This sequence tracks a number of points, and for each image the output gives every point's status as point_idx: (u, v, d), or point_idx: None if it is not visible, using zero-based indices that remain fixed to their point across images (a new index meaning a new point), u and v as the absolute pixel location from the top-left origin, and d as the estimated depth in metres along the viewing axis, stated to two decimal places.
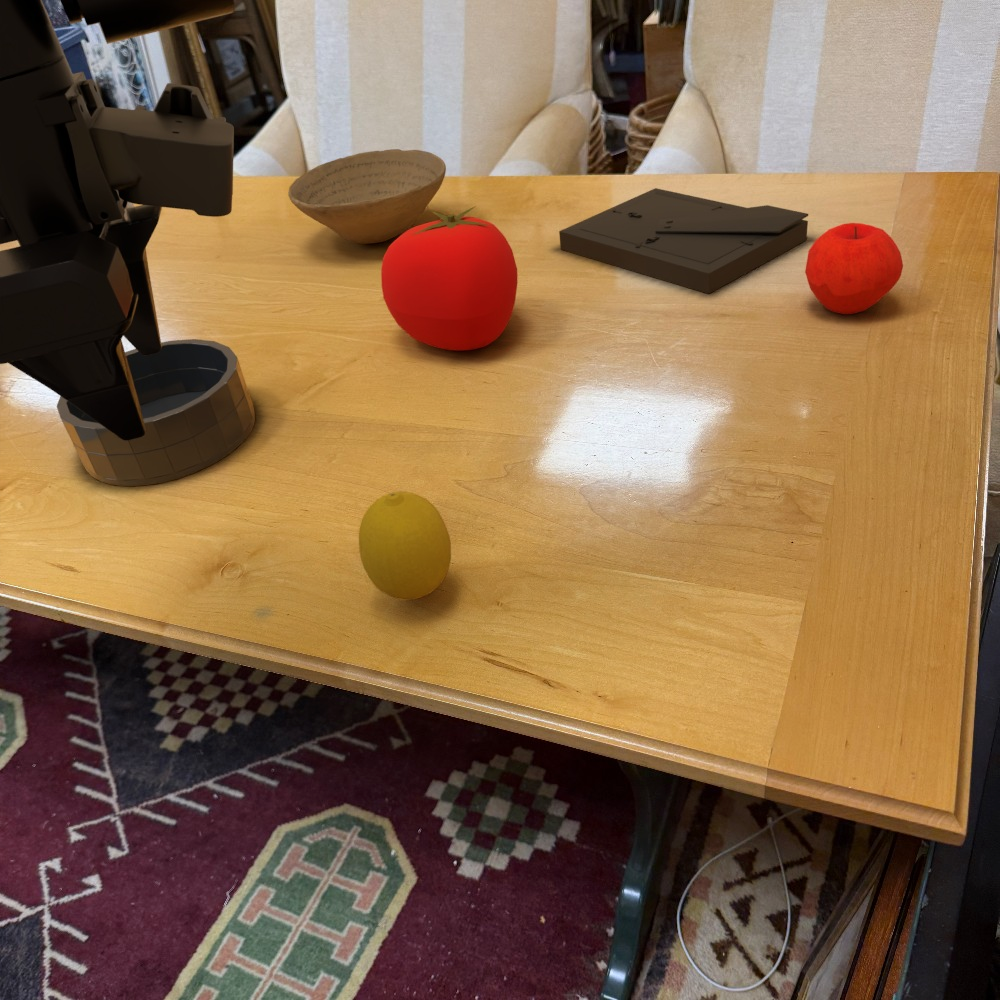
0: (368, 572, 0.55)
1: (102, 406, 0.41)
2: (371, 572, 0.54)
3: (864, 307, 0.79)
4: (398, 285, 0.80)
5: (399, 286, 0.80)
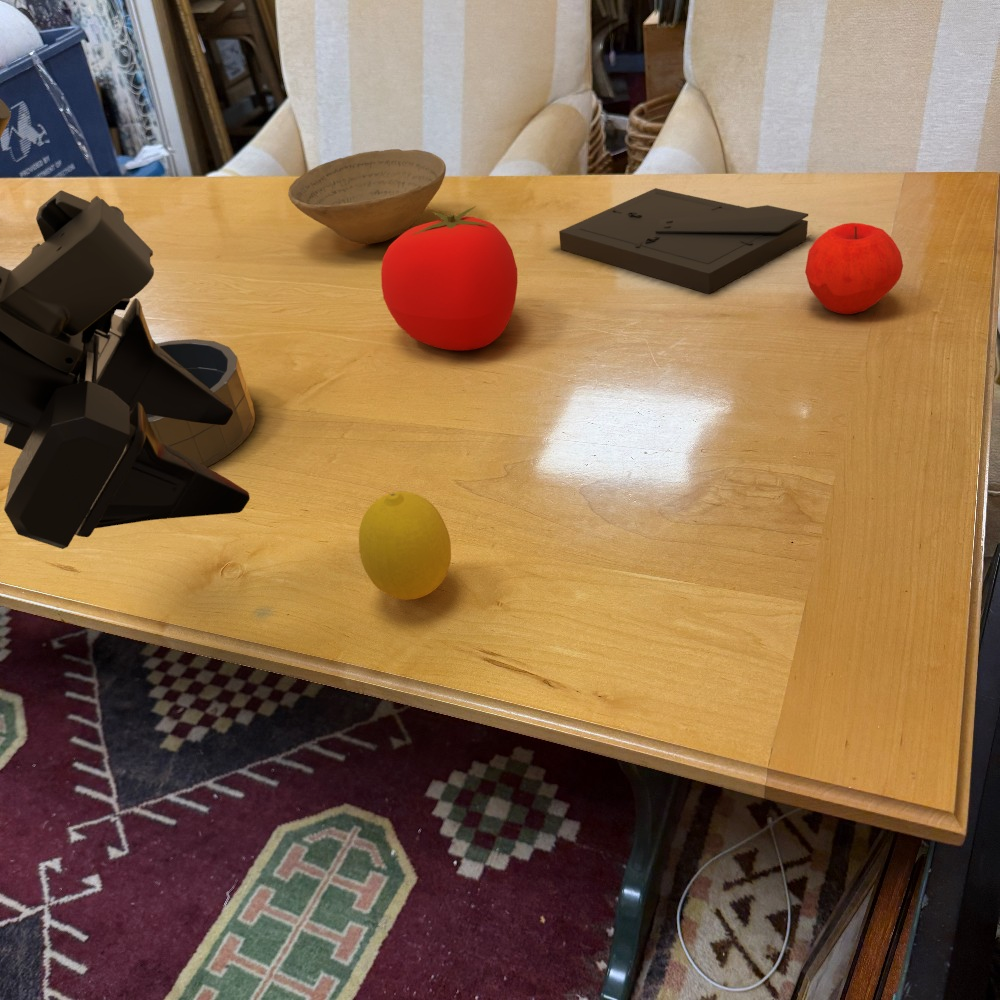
0: (368, 572, 0.55)
1: (197, 502, 0.43)
2: (371, 572, 0.54)
3: (864, 307, 0.79)
4: (398, 285, 0.80)
5: (399, 286, 0.80)
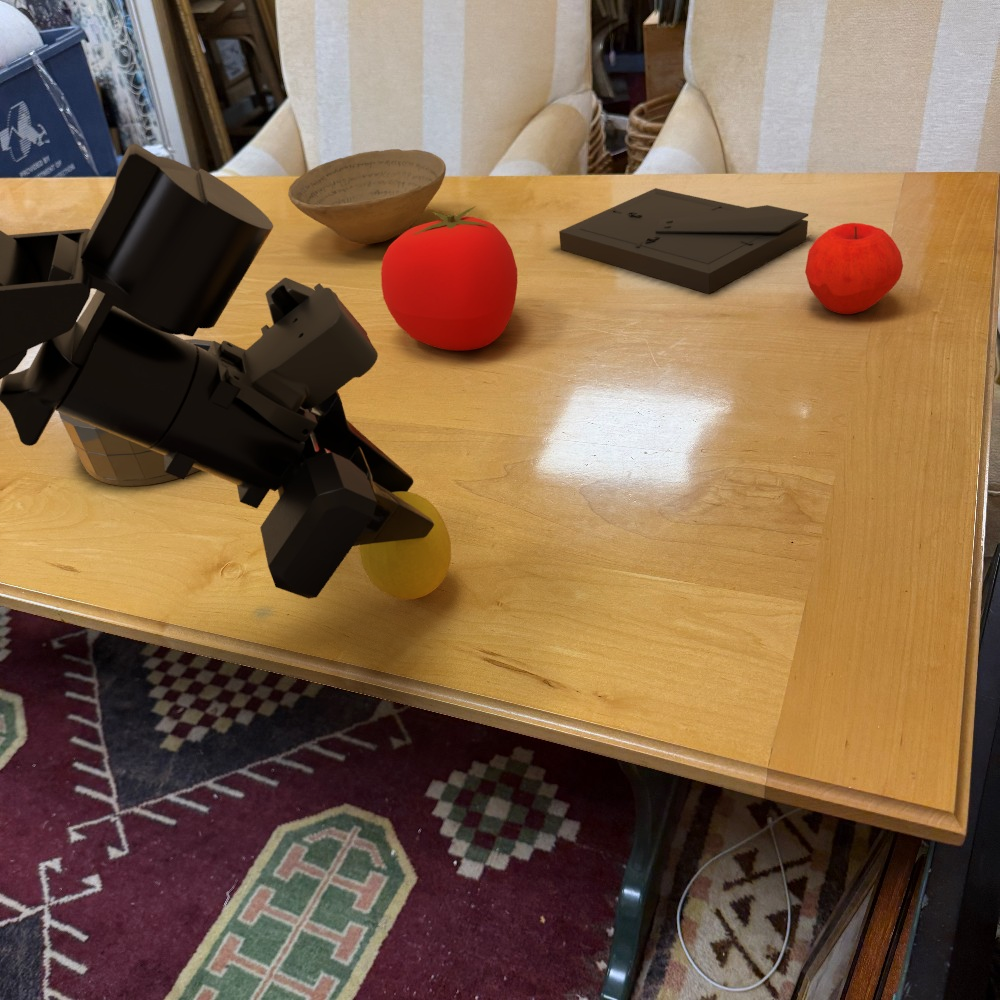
0: (368, 572, 0.55)
1: (395, 529, 0.51)
2: (371, 572, 0.54)
3: (864, 307, 0.79)
4: (398, 285, 0.80)
5: (399, 286, 0.80)
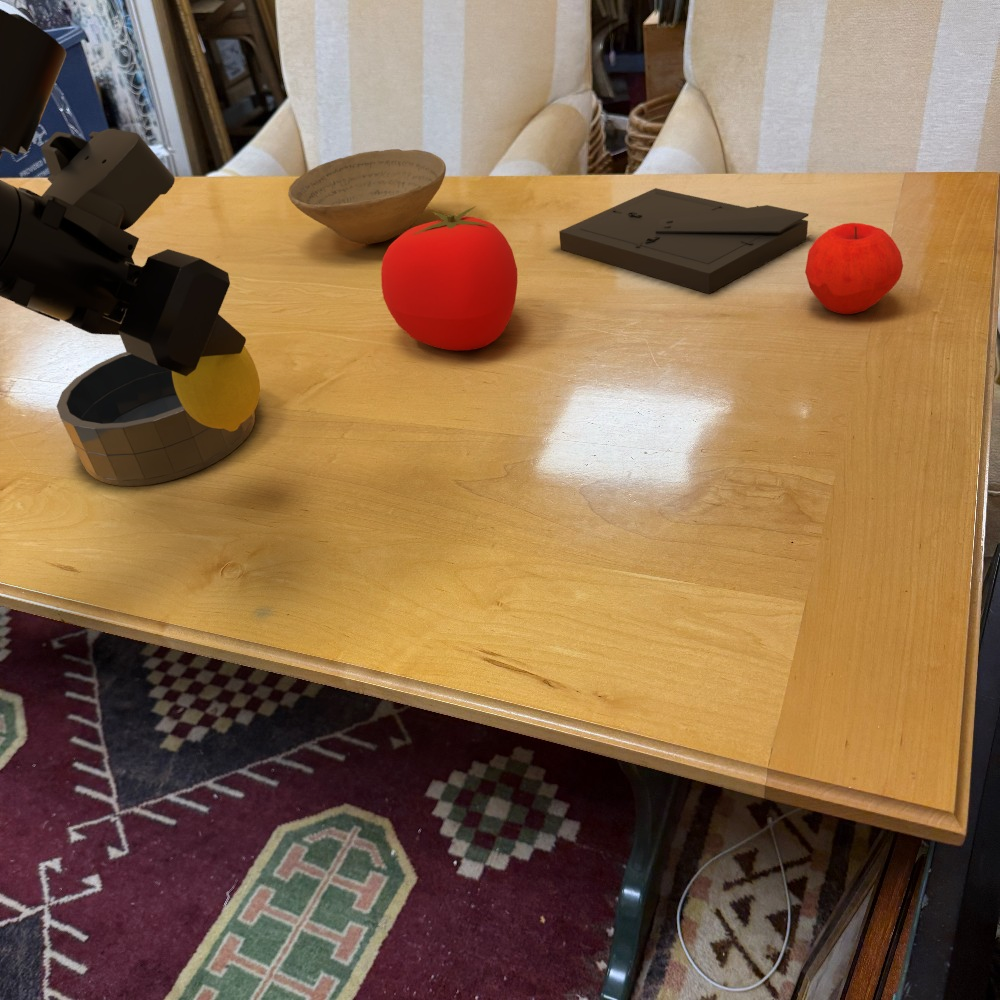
0: (193, 404, 0.60)
1: (218, 342, 0.57)
2: (197, 402, 0.60)
3: (864, 307, 0.79)
4: (398, 285, 0.80)
5: (399, 286, 0.80)
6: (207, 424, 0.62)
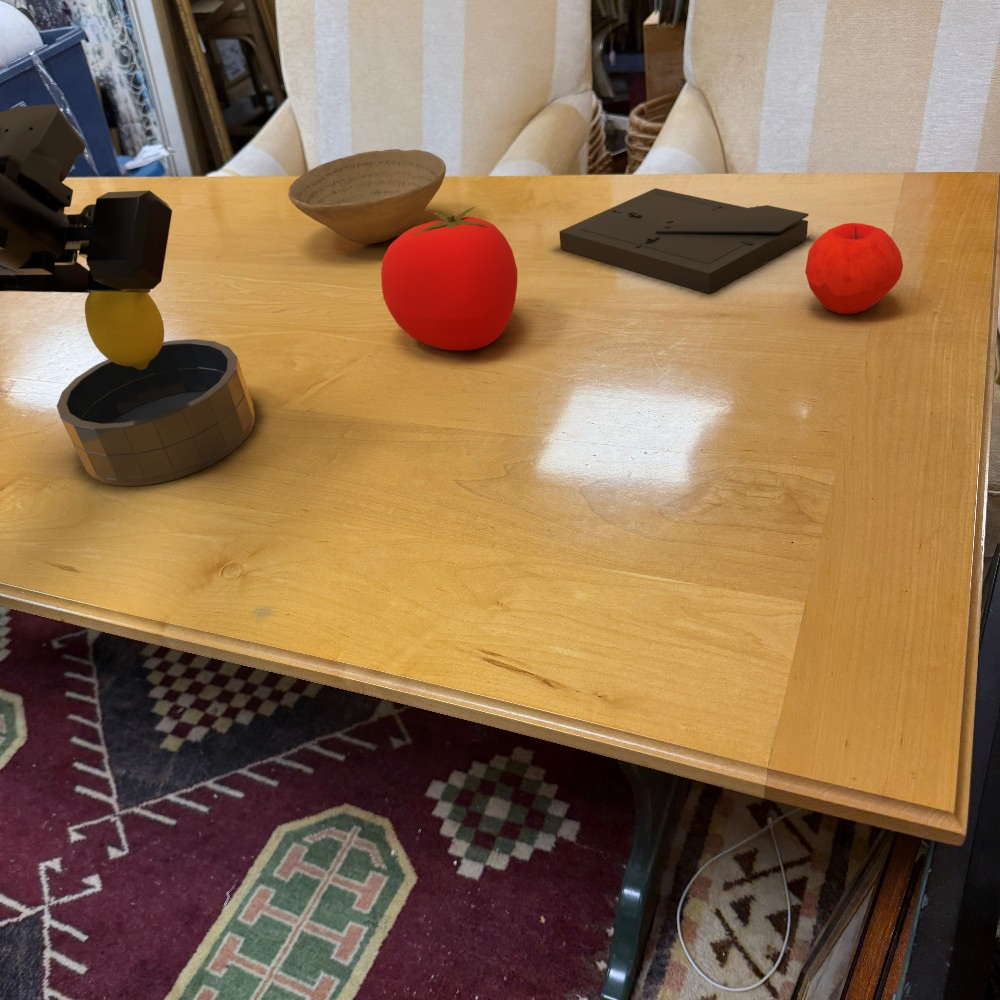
0: (117, 342, 0.70)
1: None
2: (121, 339, 0.70)
3: (864, 307, 0.79)
4: (398, 285, 0.80)
5: (399, 286, 0.80)
6: (128, 361, 0.71)
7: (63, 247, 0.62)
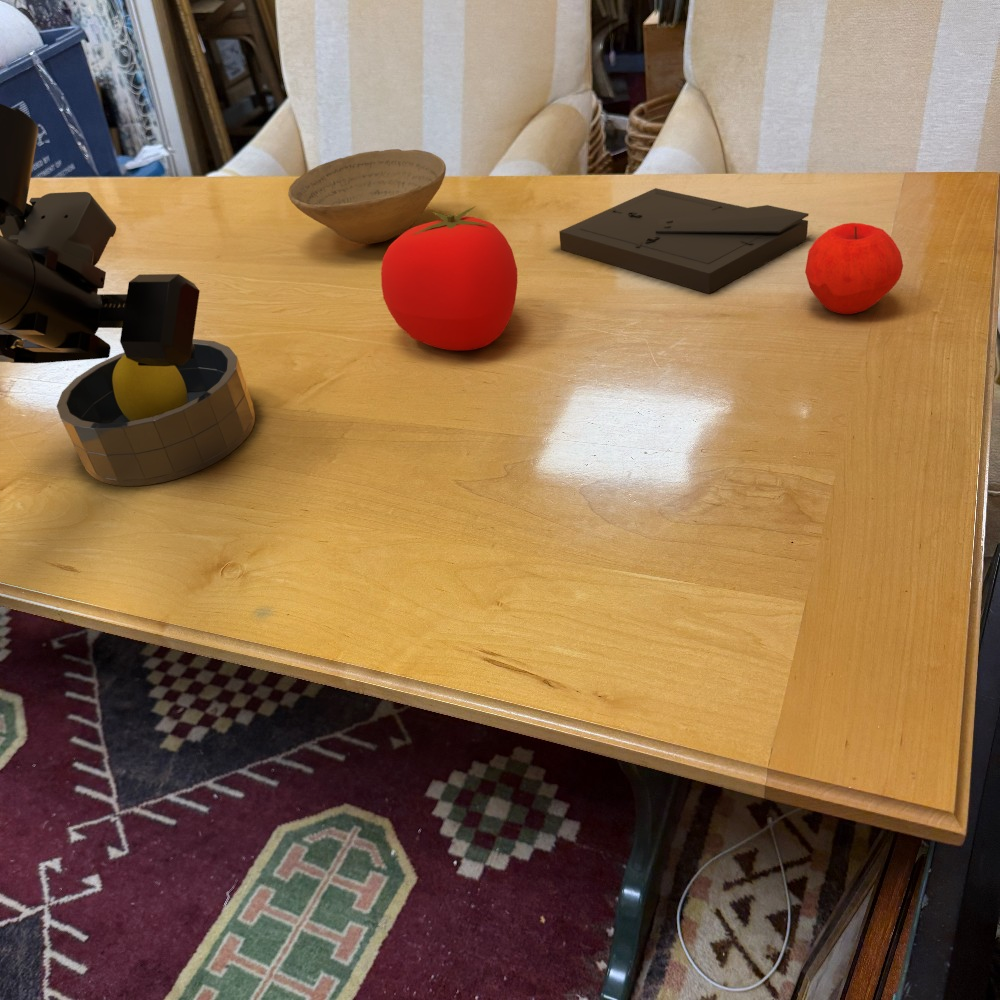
0: (143, 411, 0.73)
1: None
2: (147, 408, 0.73)
3: (864, 307, 0.79)
4: (398, 285, 0.80)
5: (399, 286, 0.80)
6: None
7: (97, 326, 0.65)
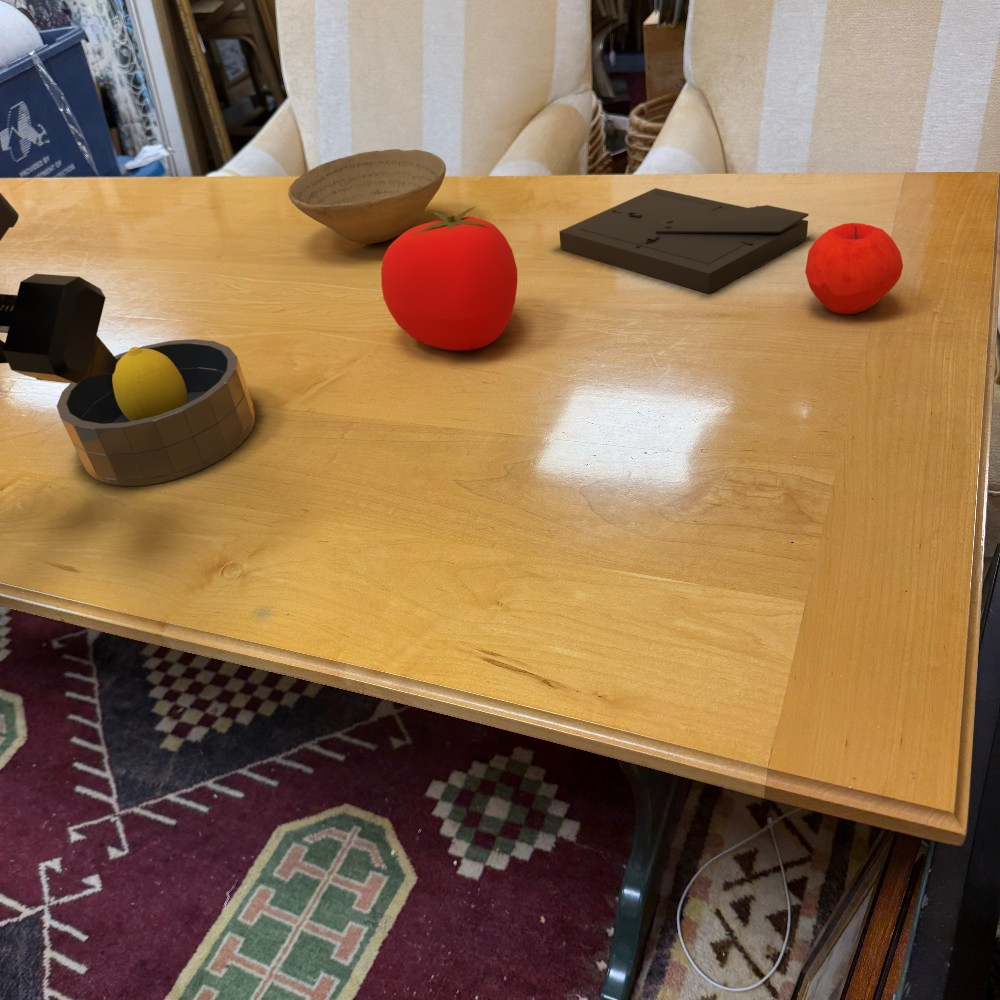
0: (143, 411, 0.73)
1: (99, 363, 0.62)
2: (147, 408, 0.73)
3: (864, 307, 0.79)
4: (398, 285, 0.80)
5: (399, 286, 0.80)
6: None
7: None
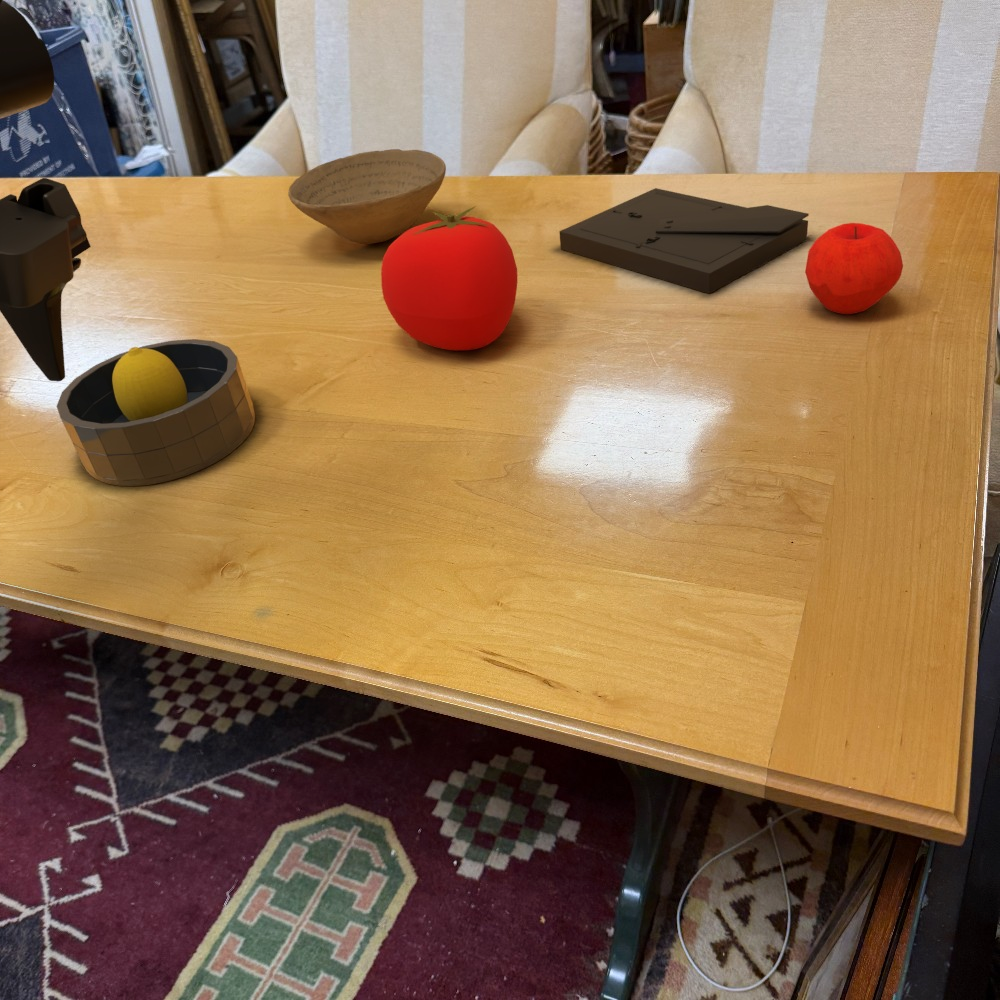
0: (143, 411, 0.73)
1: None
2: (147, 408, 0.73)
3: (864, 307, 0.79)
4: (398, 285, 0.80)
5: (399, 286, 0.80)
6: None
7: None
